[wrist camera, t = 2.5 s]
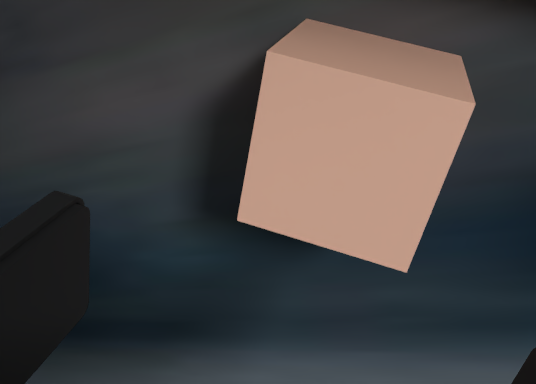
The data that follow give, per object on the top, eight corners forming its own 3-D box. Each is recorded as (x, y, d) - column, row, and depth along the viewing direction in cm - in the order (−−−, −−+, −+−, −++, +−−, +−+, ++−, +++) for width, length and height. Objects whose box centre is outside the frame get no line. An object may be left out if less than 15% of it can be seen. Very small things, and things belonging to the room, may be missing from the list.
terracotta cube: (307, 18, 20) (266, 51, 15) (460, 55, 19) (475, 104, 14) (278, 153, 23) (236, 220, 18) (410, 191, 22) (406, 272, 17)
